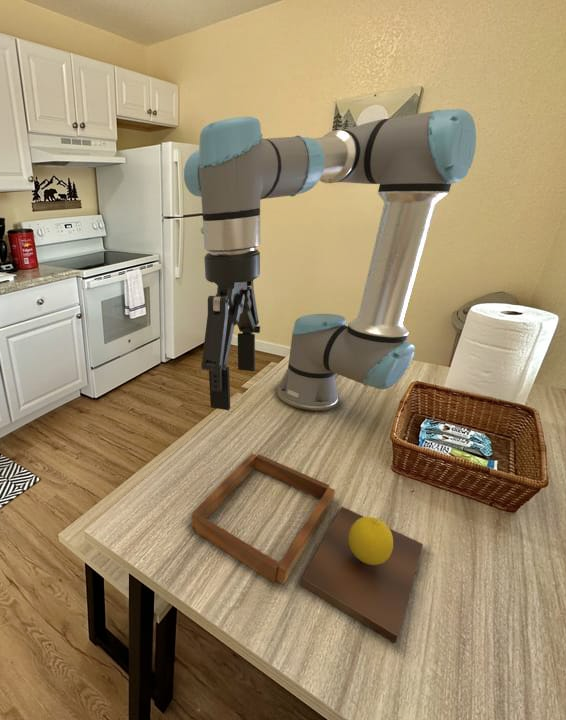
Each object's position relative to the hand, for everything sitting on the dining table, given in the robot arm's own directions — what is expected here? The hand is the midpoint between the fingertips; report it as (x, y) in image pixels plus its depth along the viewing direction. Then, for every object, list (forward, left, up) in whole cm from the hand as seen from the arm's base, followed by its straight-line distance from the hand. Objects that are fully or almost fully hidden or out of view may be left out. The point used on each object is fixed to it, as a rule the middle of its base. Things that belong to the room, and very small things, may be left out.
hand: (234, 387), depth 61 cm
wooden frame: (-2, +7, -24) cm, 25 cm away
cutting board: (-2, +23, -24) cm, 33 cm away
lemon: (-2, +23, -23) cm, 32 cm away
